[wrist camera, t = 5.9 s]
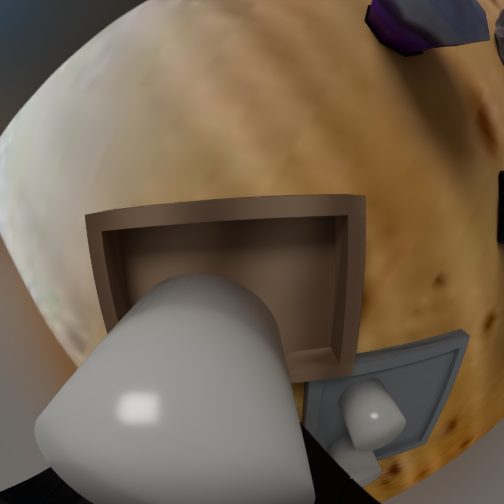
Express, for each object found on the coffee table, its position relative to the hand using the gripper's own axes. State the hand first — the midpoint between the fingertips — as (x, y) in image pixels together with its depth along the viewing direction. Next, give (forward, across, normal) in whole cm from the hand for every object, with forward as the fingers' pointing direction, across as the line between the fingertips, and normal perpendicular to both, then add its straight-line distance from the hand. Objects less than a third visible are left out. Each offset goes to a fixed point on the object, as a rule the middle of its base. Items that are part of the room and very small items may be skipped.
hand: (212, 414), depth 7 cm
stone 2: (+10, -10, +10) cm, 17 cm away
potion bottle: (+11, -14, -19) cm, 26 cm away
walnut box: (+11, 0, 0) cm, 11 cm away
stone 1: (0, 0, -2) cm, 2 cm away
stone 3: (+10, -10, +17) cm, 22 cm away
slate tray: (+11, -12, +14) cm, 21 cm away
